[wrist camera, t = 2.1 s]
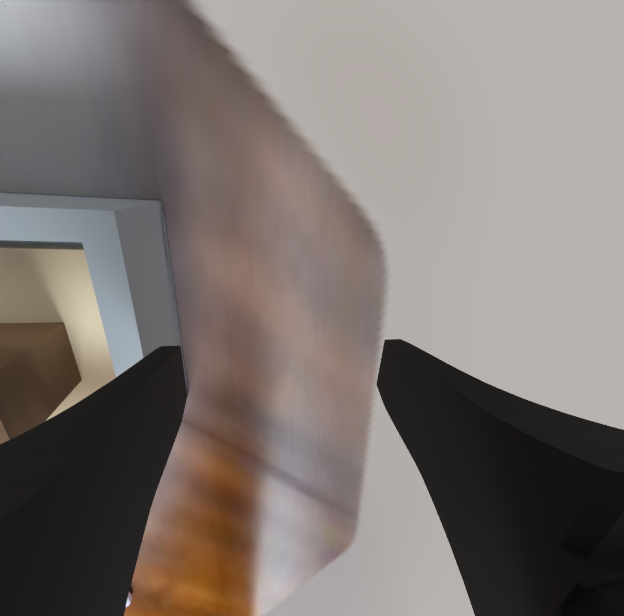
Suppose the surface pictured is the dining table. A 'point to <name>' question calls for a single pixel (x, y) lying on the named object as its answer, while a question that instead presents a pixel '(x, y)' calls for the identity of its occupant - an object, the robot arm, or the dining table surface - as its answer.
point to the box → (109, 262)
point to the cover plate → (57, 299)
